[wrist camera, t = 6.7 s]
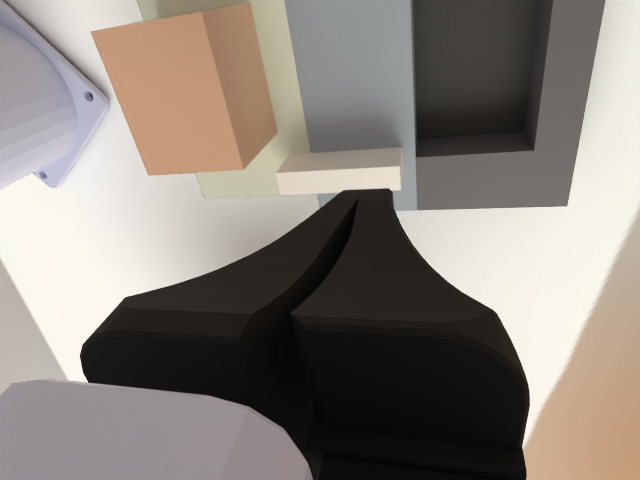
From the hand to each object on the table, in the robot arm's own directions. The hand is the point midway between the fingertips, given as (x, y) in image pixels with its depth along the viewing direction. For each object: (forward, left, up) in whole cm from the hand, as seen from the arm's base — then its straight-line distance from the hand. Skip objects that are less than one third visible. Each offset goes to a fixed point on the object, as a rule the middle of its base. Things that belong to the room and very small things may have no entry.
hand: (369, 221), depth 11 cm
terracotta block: (-6, -4, -7) cm, 10 cm away
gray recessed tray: (-2, +3, -9) cm, 10 cm away
